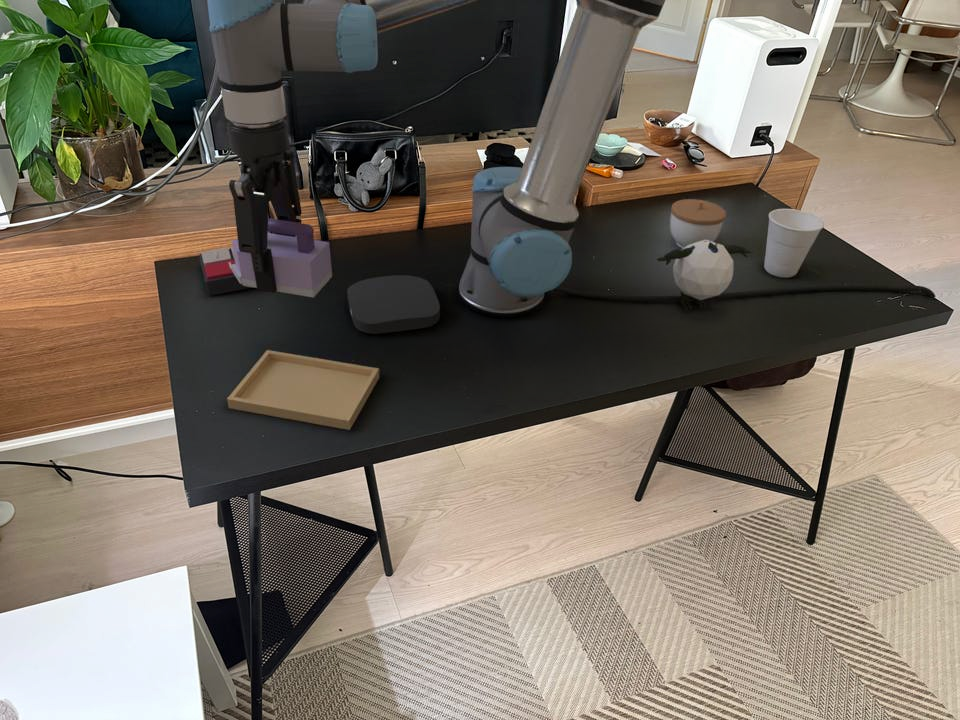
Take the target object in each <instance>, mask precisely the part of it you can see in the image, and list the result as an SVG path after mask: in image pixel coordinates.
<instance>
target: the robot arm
mask: <svg viewBox="0 0 960 720" xmlns="http://www.w3.org/2000/svg"><path fill="white" fill-rule="evenodd" d="M477 1H478V0H303V1H302V3H282V2H278V1H275V0H206V3H207V10H208V20H209V32H210V37H211V42H212V47H213V53H214V59H215V64H216V69H217V75H218V81H219V85H220V95H221V96H222V105H223V110H224V111H223V112H224V117H225V118H226V120H228V121H227V122H226V129H227V130H226V131H227V137H228V144H229V148H230V150H231V152H232V153H233V154H235V155H236V156H238V158H239V159H240V177H239V178H238V179H237V180H235V179H230V180H229V183H228V186H229V190H230V193H231V196H232V200H233V208H234V215H235V216H234V218H235V226H236V234H237V235H236V237H237V240H238V245H239V251H240V252H245V253H251V258H252V263H253V270H254V274H255V280H256V286H257V288H256V290H257V291H261V292H268V293H276V292H278V291H277V287H276V280H275V273H274V266H273V259H272V252H271V249H268V248H267V235H268V233H269V232H268V218H269V203H270V204H271V207H272V209H273V212H274V215H275V219H276V220H283V221H290V222H296V223H302V218H297V217H301V215H302V205H301V198H300V193H299V187H298V181H297V175H296V170H295V168H296V167H295V151H294V150H291V149H289V148H290V146H291V142H290V135H289V126H288V125H289V124H288V121H287V120H286V119H285V117H286V116H287V107H286V100H285V93H284V92H285V91H284V84H283V76H282V72H336V73H337V72H338V73H339V72H340V73H344V72H345V73H347V74H353V73H354V72H365V71H367V72H368V71H372V70H374V69H375V68H376V67H377V65H378V59H379V58H378V57H379V55H378V54H379V52H378V51H379V50H378V34H380V33H383V32H387V31H389V30H393V29H395V28H399V27H402V26H405V25H408V24H411V23H414V22H416V21H420V20H423V19H425V18H429V17H432V16H434V15H437V14H438V15H439V14H441V13H444V12H446V11H447V12H448V11H450V10H452V9H453V10H454V9H456V8H460V7H462V6H465V5H468V4H471V3H473V2H477ZM575 3H576V9H575V12H574V15H573V18H572V20H571V24H570V27H569V29H568V31H567V36H566V38H565V41H564V44H563V47H562V50H561V53H560V56H559V58H558V62H557V64H556V67H555V70H554V73H553V76H552V79H551V82H550V85H549V87H548V91H547V94H546V97H545V100H544V103H543V106H542V109H541V110H540V111H541V112H540V115H539V117H538V120H537V123H536V125H535V129H534V131H533V135H532V138H531V141H530V144H529V146H528V150H527V153H526V156H525V158H524V161H523V164H522V166H521V167H520V166H519V167H517V166H497V167H496V166H495V167H489V168H486V169H482V170H480V171H478V172H477V173H476V174H475V175H474V178H473V182H472V183H473V184H472V188H471V192H472V200H471V201H472V202H471V203H472V204H471V206H472V207H471V209H472V210H471V230H470V231H471V233H470V255H469V258H467V261H466V263H465V268H464V270H463V272H462V275H461V278H460V281H459V285H458V298H459V300H460V301H461V303H462V304H463V305H464V306H465V307H466V308H468V309H470V310H471V311H473V312H474V313H477V314H480V315H484V316H487V317H493V318H505V319H507V318H508V319H509V318H519V317H523V316H526V315H529V314H531V313H534V312H535V311H537V310H538V309H540V308H541V307H542V305H543V303H544V301H545V293H548V292H549V291H554V292H558V293H559V292H560V293H563V294H566V295H567V294H568V295H572V296H577V297H585V298H591V299H598V300H599V299H600V300H610V301H621V302H623V301H625V302H680V301H681V295H626V294H612V293H602V292H601V293H600V292H593V291H584V290H579V289H573V288H569V287H564V286H560V285H561V284H562V283H563V282H564V281H565V279H566V278H567V277H568V275H569V273H570V271H571V268H572V265H573V251H572V248H571V246H570V243H569V242H570V240H571V237H572V234H573V232H574V230H575V227H576V224H577V222H578V219H579V216H580V213H579V210H578V208H577V205H576V204H575V198H576V195H577V193H578V191H579V188H580V185H581V183H582V181H583V178H584V175H585V173H586V170H587V168H588V165H589V163H590V160H591V157H592V155H593V152H594V150H595V147H596V145H597V142H598V140H599V137H600V134H601V132H602V128H603V127H604V124H605V122H606V119H607V117H608V114H609V111H610V109H611V107H612V104H613V101H614V99H615V96H616V93H617V91H618V88H619V86H620V83H621V80H622V78H623V75H624V73H625V71H626V68H627V65H628V63H629V60H630V57H631V55H632V53H633V50H634V48H635V45H636V42H637V40H638V38H639V35H640V32H641V30H643V28H644V27H647V26H648V25H650V24H651V23H653V22H655V21H657V20H658V19H659V17H660V15H661V12H662V10H663V7H664V5H665V3H666V0H575ZM275 234H278V235H285V236H291V237H297V236H295V235H288V234H282V233H275ZM917 288H918V289H917ZM919 289H920V290H921V291H920V290H919ZM815 291H817V292H819V291H890V292H909V291H910V292H922V293H925V294H926V295H927V296H928V295H929V296H928V297H929V298H933V299H934V298H936V294H935V292H933V290H931V289H930V288H929V287H926V286H922V285H890V284H889V285H886V284H821V285H802V286H789V287H778V288H776V287H775V288H767V289H755V290H747V291H745V290H744V291H734V292H733V291H732V292H722V293H721V294H720V295H718V296H714V297H710V298H707V299H703V301H709V300H710V301H711V300H723V299H735V298H744V297H757V296H765V295H766V296H767V295H776V294H777V295H778V294H789V293H801V292H815ZM930 296H931V297H930ZM695 299H696V298H694V297H691V296H690V299H689V302H693V301H694V300H695Z"/></svg>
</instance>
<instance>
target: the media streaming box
mask: <svg viewBox="0 0 960 720" xmlns="http://www.w3.org/2000/svg"><path fill="white" fill-rule="evenodd" d="M346 296H347V304H348V309H349V313H350V316H351V319H352V322H353V325H354V327H355V328H356V329H357V330H358V331H360V332H361V333H362V332H363V333H366V334H369V335H370V334H372V335H379V334H387V333H389V334H390V333H397V332H404V331H405V332H406V331H413V330H419V329H424V328H429V327H432V326H434V325H436V324H437V323H438V322H439V321H440V318H441V305H440V300H439V299H438V296H437V293H436V292H435V290H434V288H433V286H432V285H431V282H429V281H428V280H427V279H424V278H422V277H418V276H414V275H407V274H405V275H404V274H403V275H402V274H401V275H400V274H399V275H398V274H397V275H395V274H394V275H384V276H383V275H382V276H377V277H371V278H366V279H362V280H359V281H357V282H355V283H353V284H351V285H350V286H349V287H348V288H347V290H346Z"/></svg>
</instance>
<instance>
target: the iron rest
mask: <svg viewBox="0 0 960 720" xmlns="http://www.w3.org/2000/svg"><path fill="white" fill-rule="evenodd" d="M379 379H380V368H378V367H372V366H367V365H359V364H354V363H347V362H342V361H335V360H331V359H324V358H318V357H312V356H306V355H300V354H294V353H287V352H281V351H275V350H271V349H267V350H266V351H265V352H264V353H263V354H262V356H260V358H259V359H258V360H257V362H256V363H255V364H254V365H253V366H252V368H251V369H250V370H249V371H248V372H247V374H246V375H245V376H244V378H243V379H242V380H241V381H240V382H239V384H238V385H237V386H236V387H235V389H233V391H232V392H231V393H230V395H228V397H227V398H226V401H227V405H228V409H231V410H237V411H242V412H249V413H253V414H257V415H258V414H259V415H263V416H269V417H270V416H271V417H276V418H281V419H286V420H292V421H297V422H304V423H308V424H314V425H319V426H324V427H329V428H337V429H342V430H347V431H351V429H352V427H353V425H354V423H355V422H356V420H357V418H358V416H359V415H360V413H361V411H362V409H363V408H364V406H365V404H366V402H367V401H368V398H370V395H371V393H372V391H373V390H374V388H375V386H376V384H377V383H378V381H379Z"/></svg>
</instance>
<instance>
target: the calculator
mask: <svg viewBox="0 0 960 720" xmlns="http://www.w3.org/2000/svg"><path fill="white" fill-rule="evenodd" d="M199 260H200V265H201V270H202V275H203V280H204V283H205V284H204V285H205V288H206V292H207V295H208V296H209V297H212V296H217V295H221V294H222V295H223V294H227V293H231V292H236V291H238V292H239V291H242V290H247V289H252V288H254V287H248V286H243V284H240V283H239V281H238V279H237V278H236V276H235V275H234V273H233V272H232V266H231V265H232V264H235V258H234V253H233V247H232V246H231V247H230V248H229V247H228V246H227V247H221V248H216V249H209V250H205V251H202V252H201V253H200V254H199Z"/></svg>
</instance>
